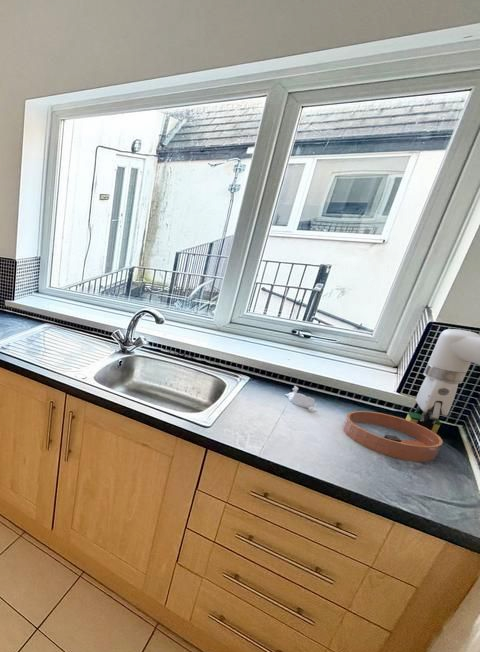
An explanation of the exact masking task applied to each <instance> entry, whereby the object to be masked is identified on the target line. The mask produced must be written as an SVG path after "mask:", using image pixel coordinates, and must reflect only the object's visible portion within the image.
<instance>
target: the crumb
mask: <svg viewBox="0 0 480 652" xmlns="http://www.w3.org/2000/svg"><path fill="white" fill-rule="evenodd" d="M383 438H386V439H389V440H392V441H397V442H401V441H402V440H403V439H401V438H399V437H398V436H397V435H390V434H384V436H383Z"/></svg>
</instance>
